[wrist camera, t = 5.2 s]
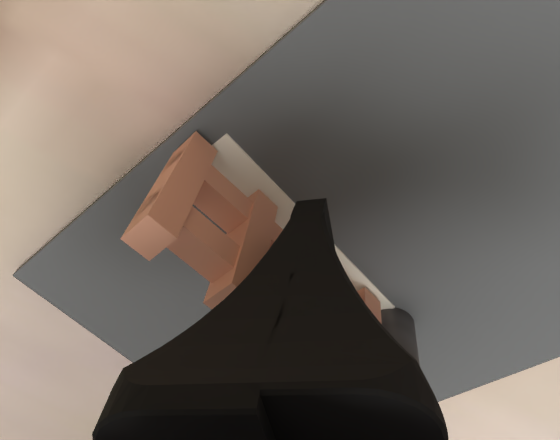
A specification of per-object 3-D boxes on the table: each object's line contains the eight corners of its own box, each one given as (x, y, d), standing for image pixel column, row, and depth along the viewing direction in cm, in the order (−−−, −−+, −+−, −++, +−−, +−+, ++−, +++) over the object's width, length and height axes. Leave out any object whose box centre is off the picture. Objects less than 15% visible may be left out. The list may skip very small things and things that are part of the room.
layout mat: (273, 457, 24) (272, 464, 23) (17, 269, 18) (11, 276, 18) (750, 276, 15) (757, 285, 15) (519, -171, 10) (525, -172, 9)
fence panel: (380, 301, 17) (387, 409, 13) (356, 314, 17) (357, 422, 14) (196, 131, 14) (147, 214, 10) (173, 152, 14) (120, 238, 11)
